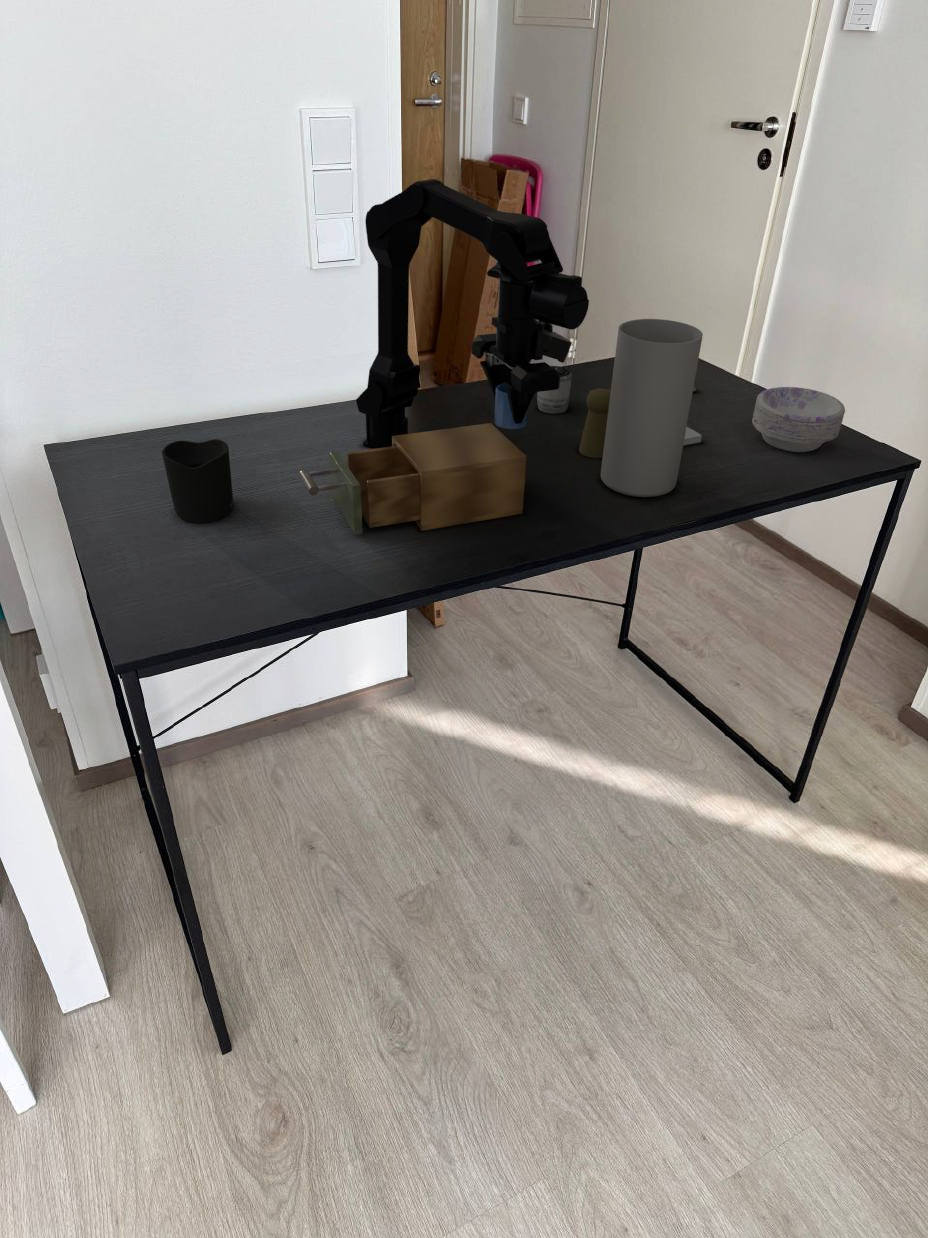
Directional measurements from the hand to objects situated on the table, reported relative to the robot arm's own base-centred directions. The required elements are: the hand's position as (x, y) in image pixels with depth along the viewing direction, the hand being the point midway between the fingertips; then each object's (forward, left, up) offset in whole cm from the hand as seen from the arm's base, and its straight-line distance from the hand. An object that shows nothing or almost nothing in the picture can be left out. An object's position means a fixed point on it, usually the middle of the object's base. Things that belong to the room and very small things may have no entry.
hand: (510, 416), depth 138 cm
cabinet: (-6, -6, -13) cm, 16 cm away
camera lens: (-1, +38, -13) cm, 41 cm away
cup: (0, 0, -1) cm, 1 cm away
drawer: (-17, -15, -12) cm, 25 cm away
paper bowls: (+44, +38, -13) cm, 59 cm away
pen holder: (-41, -23, -13) cm, 49 cm away
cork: (+11, +21, -13) cm, 27 cm away
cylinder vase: (+20, +11, -13) cm, 26 cm away
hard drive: (+21, +30, -13) cm, 39 cm away
